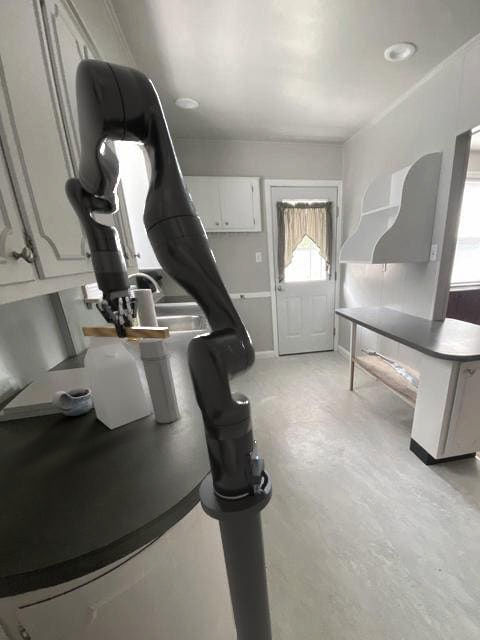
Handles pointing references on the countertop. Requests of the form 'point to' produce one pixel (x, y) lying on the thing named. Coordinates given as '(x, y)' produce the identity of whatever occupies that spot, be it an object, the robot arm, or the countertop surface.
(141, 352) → the water bottle
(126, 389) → the milk
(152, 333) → the stick
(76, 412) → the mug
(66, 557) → the countertop surface
